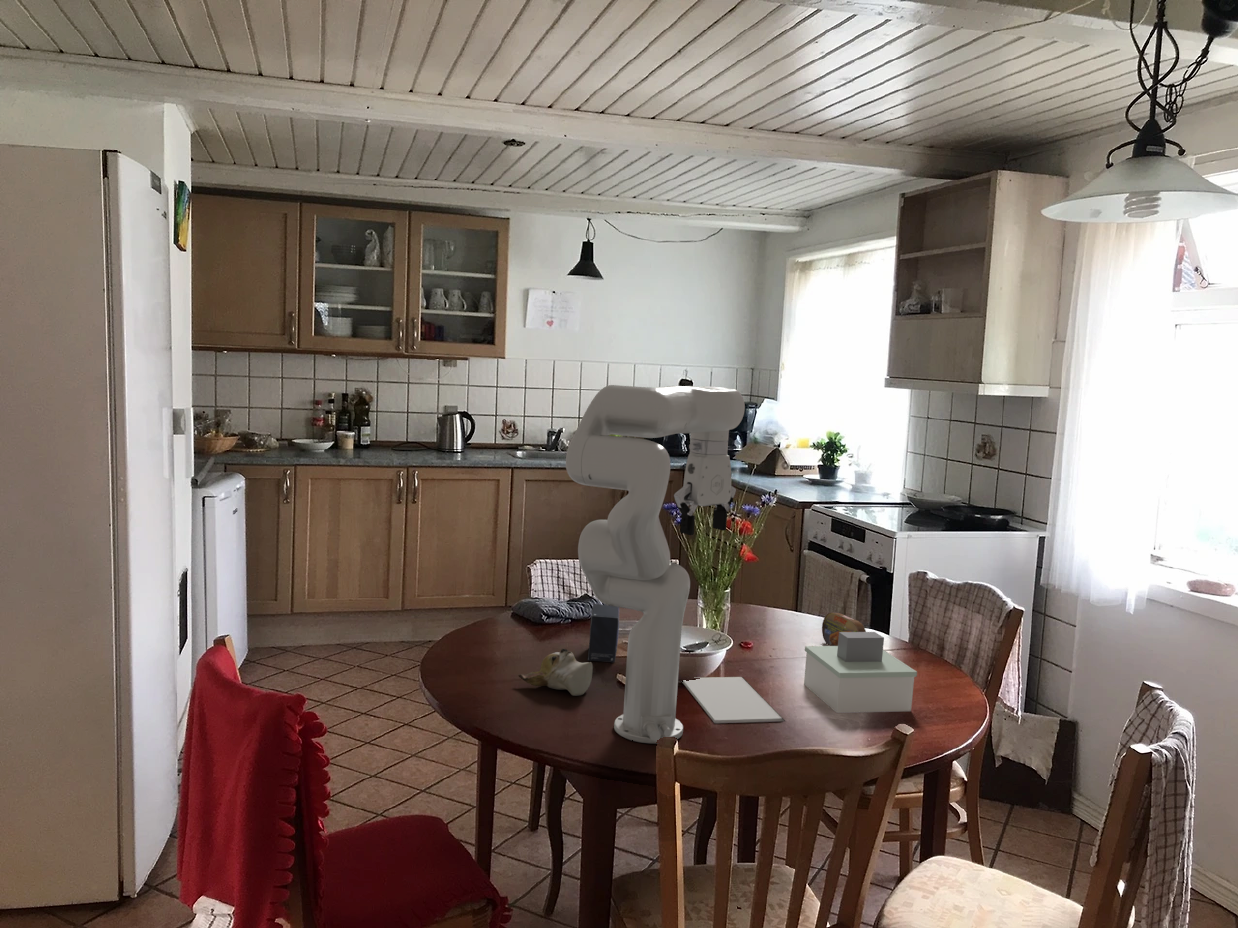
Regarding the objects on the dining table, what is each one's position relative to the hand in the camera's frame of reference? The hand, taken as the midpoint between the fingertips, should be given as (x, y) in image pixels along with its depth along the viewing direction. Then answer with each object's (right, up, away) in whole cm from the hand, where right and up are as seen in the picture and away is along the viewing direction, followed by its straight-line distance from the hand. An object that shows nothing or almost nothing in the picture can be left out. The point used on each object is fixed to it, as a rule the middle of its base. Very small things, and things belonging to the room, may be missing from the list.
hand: (703, 531), depth 190 cm
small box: (-21, -30, +22) cm, 43 cm away
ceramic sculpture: (-29, -32, -1) cm, 43 cm away
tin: (+37, -32, +37) cm, 61 cm away
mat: (+10, -34, -1) cm, 35 cm away
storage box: (+31, -35, +2) cm, 47 cm away
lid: (+32, -28, +2) cm, 43 cm away
